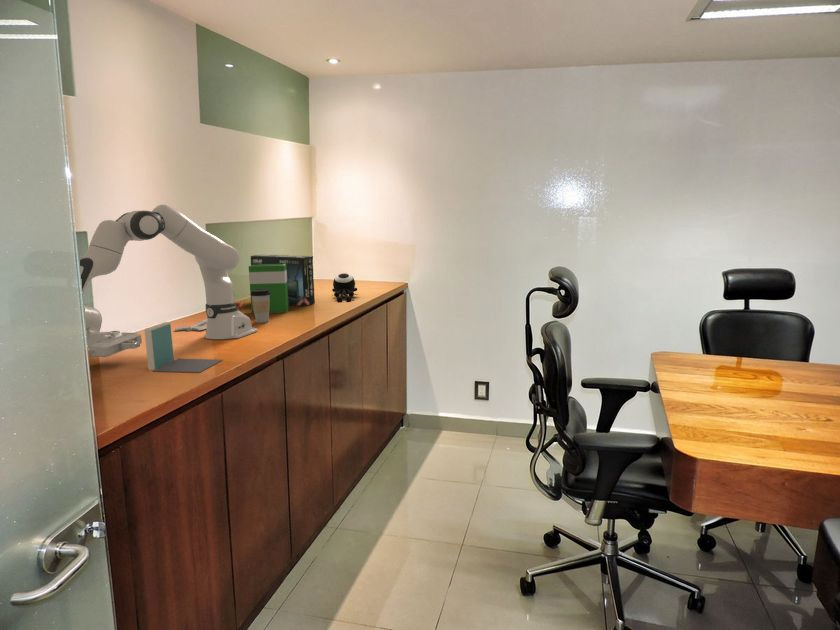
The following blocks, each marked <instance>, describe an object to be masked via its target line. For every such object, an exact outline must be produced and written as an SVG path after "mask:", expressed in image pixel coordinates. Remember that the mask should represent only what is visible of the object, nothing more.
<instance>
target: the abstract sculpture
mask: <svg viewBox="0 0 840 630" xmlns="http://www.w3.org/2000/svg"><path fill="white" fill-rule="evenodd" d="M332 286H333V287H332V289H331V291H332V292H333V296H334V297H335V298H336V302H337V303H342V301H343V296H345V301H346V302H347V303H349V302H350V303H351V301H352V297H354V296H355V292H357V291H358V288H357V287H356V281H355V278H354V277H353V276H352V275H351V274H349V273H340V274H338V275H336V276H335V277H334V279H333V283H332Z"/></svg>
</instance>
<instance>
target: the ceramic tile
mask: <svg viewBox="0 0 840 630" xmlns="http://www.w3.org/2000/svg"><path fill="white" fill-rule="evenodd" d="M171 325H172V324H171V321H170V322H169V321H168V322H167V321H166V322H162V323H159V324H156V325H153V326H150V327H147V328H145V329H144V337H145V338H144V339H145V348H146V357H147V358H146V359H147V367H148V370H149V371H153V370H155V369H157V368H159V367H161V366H163V365H166V364H168V363H170V362H172V361H174V360H175V359H174V346H173V345H174V344H173V335H172V327H171Z"/></svg>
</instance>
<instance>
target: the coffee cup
mask: <svg viewBox="0 0 840 630" xmlns="http://www.w3.org/2000/svg"><path fill="white" fill-rule="evenodd" d="M270 294H271V292H269V290H268V289H257V290H252V293H249V295H250V297H251V296H252V303H253V309H254V313H253V314H254V317H255V323H257V324H264V323H269V320H270V313H269V307H270V300H269V299H270Z"/></svg>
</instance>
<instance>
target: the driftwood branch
mask: <svg viewBox="0 0 840 630" xmlns="http://www.w3.org/2000/svg"><path fill="white" fill-rule="evenodd" d="M205 324H206V325H205ZM206 327H207V318H205V319H203V320H201V321H198V322H197V323H195V324H193V325H191V326H189V325H184V326H178V327H176V328H175V329H174V331H177V332H178V331H179V332H180V331H187V332H191V331H203V330H206Z"/></svg>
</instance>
